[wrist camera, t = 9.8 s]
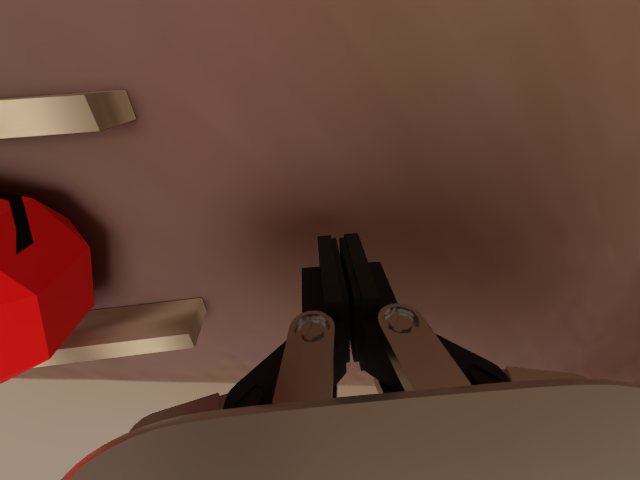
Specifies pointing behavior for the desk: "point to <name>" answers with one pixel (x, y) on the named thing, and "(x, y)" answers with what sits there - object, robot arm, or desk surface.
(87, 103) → the wooden u-shaped stand
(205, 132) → the desk surface
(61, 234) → the ball
